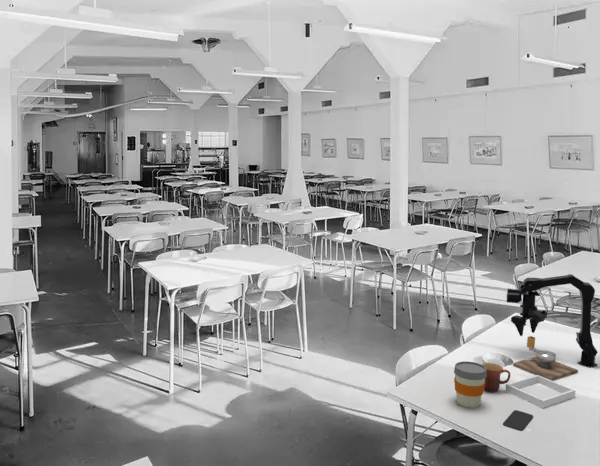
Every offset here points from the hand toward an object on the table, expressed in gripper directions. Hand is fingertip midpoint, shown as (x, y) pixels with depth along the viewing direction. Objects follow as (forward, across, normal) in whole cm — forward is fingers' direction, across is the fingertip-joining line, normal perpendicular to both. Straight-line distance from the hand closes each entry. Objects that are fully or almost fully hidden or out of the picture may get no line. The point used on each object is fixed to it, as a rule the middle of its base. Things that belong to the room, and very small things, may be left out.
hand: (527, 334), depth 270 cm
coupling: (+7, -5, -12) cm, 15 cm away
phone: (+12, -60, -41) cm, 74 cm away
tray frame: (+12, -32, -30) cm, 46 cm away
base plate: (+12, -6, -15) cm, 20 cm away
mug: (+12, -46, -18) cm, 51 cm away
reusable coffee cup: (+11, -65, -21) cm, 69 cm away
